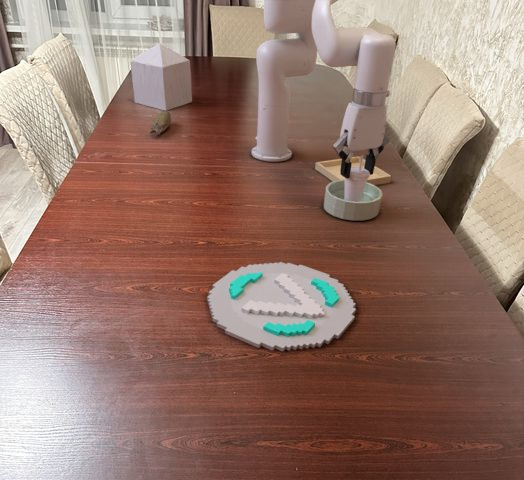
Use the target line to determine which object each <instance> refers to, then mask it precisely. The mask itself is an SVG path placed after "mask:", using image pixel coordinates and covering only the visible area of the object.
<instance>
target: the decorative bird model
mask: <svg viewBox="0 0 524 480" xmlns="http://www.w3.org/2000/svg"><path fill="white" fill-rule="evenodd" d="M171 123H172V114H171V112H170V111H169V110H166V111H165V110H161V111H160V112H159V113H157V114H156V117H154V119H153V120H152V125H151V127H150V129H151V130H150V131H148V134H152V133H155V134H156V135H157V136H159V135H161V133H163V132H164V131H165V130H167V129H168V128H169V127H170V126H171Z"/></svg>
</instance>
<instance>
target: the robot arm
mask: <svg viewBox="0 0 524 480" xmlns="http://www.w3.org/2000/svg"><path fill="white" fill-rule="evenodd" d="M338 1H339V0H263V25H264V28H265V30H266V31H267V32H269V33H270V34H273V35H274V34H275V35H287V34H295V38H274V39H269V40H266V41H263V42H262V43H261V44H260V45H259V46H258V47H257V50H256V54H255V59H256V60H255V61H256V69H257V80H258V98H257V103H258V104H257V125H256V126H257V127H256V136H255V140H256V146H254V147H252V149H251V155H252V157H253V158H255V159H257V160H259V161H263V162H269V163H279V162H285V161H287V160H290V158H292V155H293V151H292V150H291V149H290V148H289V147H288V140H289V128H290V115H291V99H292V96H291V95H292V94H291V91H290V88H289V86H288V84H287V82H286V78H291V77H292V78H294V77H295V78H296V77H303V76H308V75H310V74H311V73H312V72H314V70H315V67H316V64H317V59H318V55H319V58H320V59H321V62H322V63H323V64H325V66H327V67H330V68H344V67H356V71H355V78H354V83H353V85H354V86H353V92H352V98H351V102H348V105H347V107H346V109H345V112H344V117H343V119H342V124H341V128H340V129H341V130H340V134H339V138H337V141H336V142H335V143H334V144H333V145H332V149H333V150H334V152H336V154H337V155H338V157H339V159H342V163H341V170H340V174H341V175H342V176H343V177H345V178H346V179H348V178H349V177H350V171H351V165H352V163H351V162H350V160H351V158H352V157H354V154H355V152H357V151H365V150H367V153H368V154H366V156H365V159H364V160H365V166H364V169H366V170H368V171H369V172H370V175H372V174H373V172H374V167H375V166H376V162H377V159H378V158H379V157H380V154H381V153H382V152H383V150H384V149H385V148H386V146H387V145H388V144H389V143H390V139H389V137H388V136H387V134H386V132H385V131H386V126H387V124H386V123H387V104H386V100H387V98H388V97H390V94H391V91H390V90H389V84H390V78H391V75H392V74H391V73H392V68H393V62H394V57H395V51H396V40H395V38H394V37H393V36H391V35H388V34H383V33H380V32H379V31H377V30H375V28H372V27H364V26H363V27H361V26H360V27H339V28H338V27H337V26H336V24H335V21H334V17H333V14H332V9H331V7H332V5H333V4H335V3H336V2H338Z"/></svg>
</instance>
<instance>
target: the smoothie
mask: <svg viewBox="0 0 524 480" xmlns="http://www.w3.org/2000/svg"><path fill="white" fill-rule="evenodd" d="M360 157H361V158H360V164H359V167H351V171H350V177H349V178H348V179H346V178H345V193H344V200H347V201H354V202H360V201H361V198H362V195H363V192H364V188H365V185H366V182H367V179H368V178H369V174H370V172H369V171H368V170H366V169H364V168H361V166H362V160H363V159H364V154H363V153H361V154H360Z"/></svg>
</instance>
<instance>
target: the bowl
mask: <svg viewBox="0 0 524 480" xmlns="http://www.w3.org/2000/svg"><path fill="white" fill-rule="evenodd" d="M344 193H345V180H338V181H331V182H329V183H327V184H326V186H325V190H324V196H323V209H324V210H325V211H326V213H328V214H329V215H331V216H332V217H335V218H338V219H342V220H347V221H367V220H371V219H373V218H376V217H377V216H378V215H379V213H380V210H381V204H382V200H383V195H384V194H383V191H382V189H380V188H379V187H378V185H373V184H370V183H367V182H366V185H365V188H364V192H363V195H362V198H361V201H360V202H354V201H347V200H344Z"/></svg>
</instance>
